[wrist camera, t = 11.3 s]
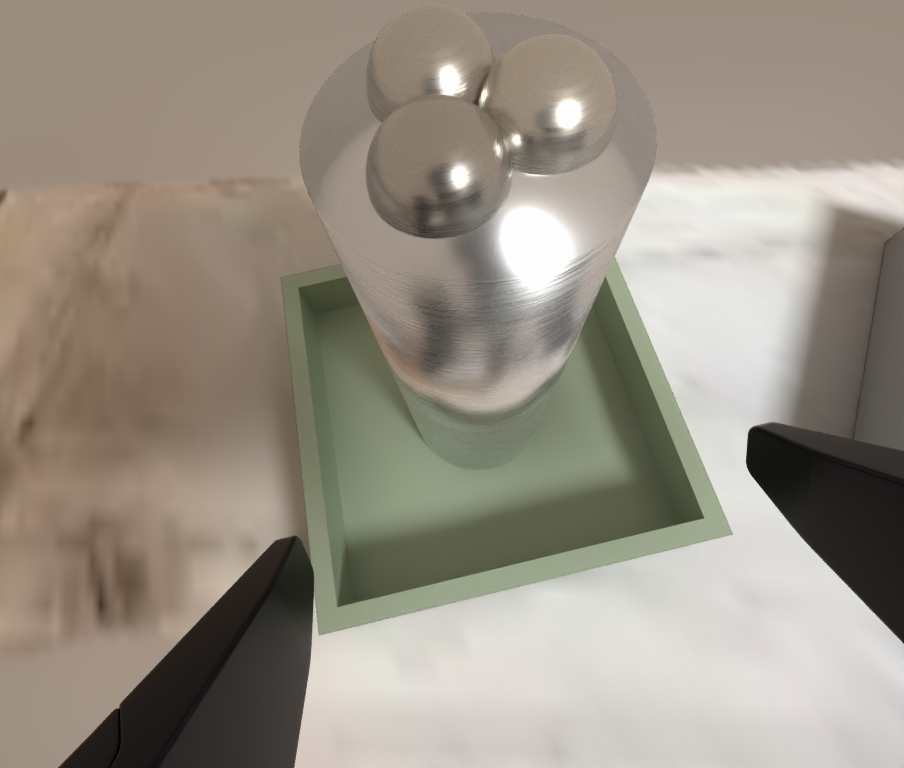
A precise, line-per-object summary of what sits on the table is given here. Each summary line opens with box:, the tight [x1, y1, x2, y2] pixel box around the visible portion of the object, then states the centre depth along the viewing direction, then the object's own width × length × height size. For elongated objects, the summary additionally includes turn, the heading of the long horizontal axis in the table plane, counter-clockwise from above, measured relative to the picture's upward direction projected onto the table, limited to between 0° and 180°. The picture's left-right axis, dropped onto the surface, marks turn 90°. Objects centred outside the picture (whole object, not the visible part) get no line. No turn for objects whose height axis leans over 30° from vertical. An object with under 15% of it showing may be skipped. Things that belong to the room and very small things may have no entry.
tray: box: [281, 256, 733, 635], centre depth 17 cm, size 12×12×3 cm
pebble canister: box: [300, 3, 657, 470], centre depth 11 cm, size 5×5×13 cm
